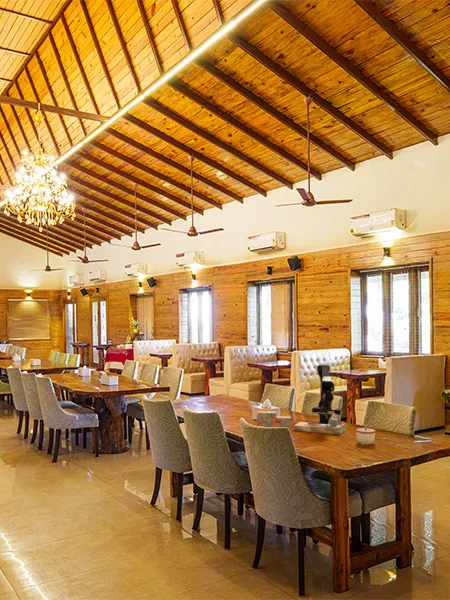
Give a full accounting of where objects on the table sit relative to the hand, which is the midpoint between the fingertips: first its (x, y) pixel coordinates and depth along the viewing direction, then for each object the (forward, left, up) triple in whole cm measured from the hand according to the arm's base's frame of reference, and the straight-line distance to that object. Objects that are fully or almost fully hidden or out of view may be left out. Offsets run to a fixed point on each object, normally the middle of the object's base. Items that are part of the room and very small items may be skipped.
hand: (327, 424), depth 359 cm
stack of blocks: (+19, -29, -4) cm, 35 cm away
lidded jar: (+27, +30, -4) cm, 41 cm away
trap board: (+3, -4, -4) cm, 6 cm away
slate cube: (-1, +4, -1) cm, 4 cm away
